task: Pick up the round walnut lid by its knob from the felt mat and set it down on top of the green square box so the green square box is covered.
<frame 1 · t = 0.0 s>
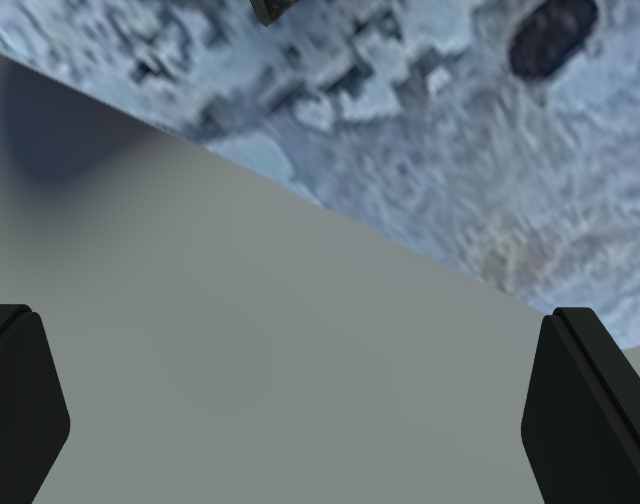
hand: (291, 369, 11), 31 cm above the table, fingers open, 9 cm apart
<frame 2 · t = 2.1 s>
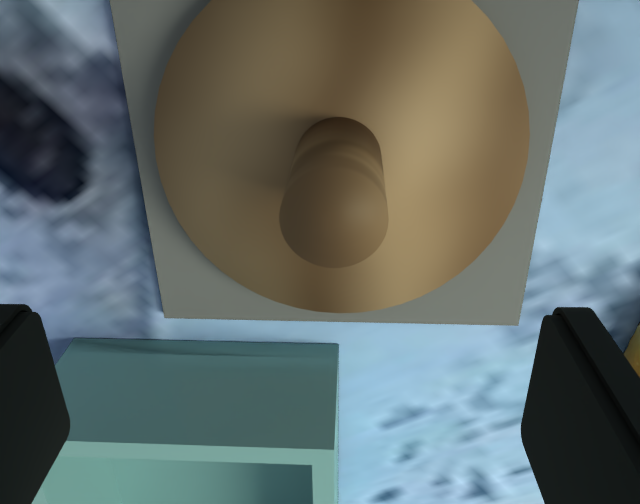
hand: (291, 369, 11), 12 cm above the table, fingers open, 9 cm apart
green square box: (217, 437, 29), on the table
mat: (339, 148, 21), on the table
lid: (339, 151, 21), resting on mat
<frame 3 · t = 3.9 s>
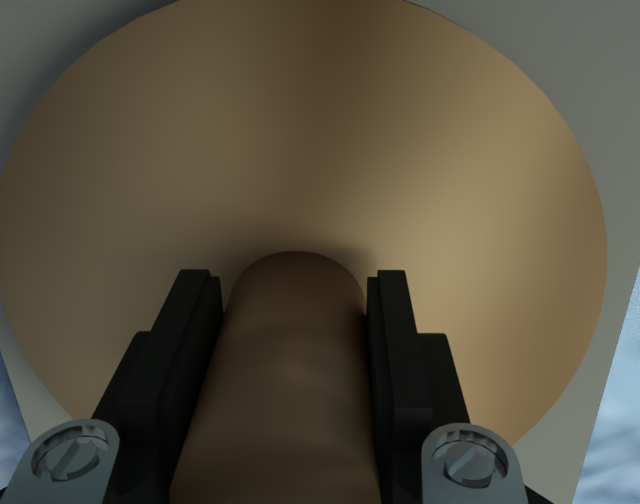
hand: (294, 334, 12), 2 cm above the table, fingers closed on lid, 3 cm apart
mat: (300, 283, 14), on the table
lid: (299, 292, 13), resting on mat, touching gripper
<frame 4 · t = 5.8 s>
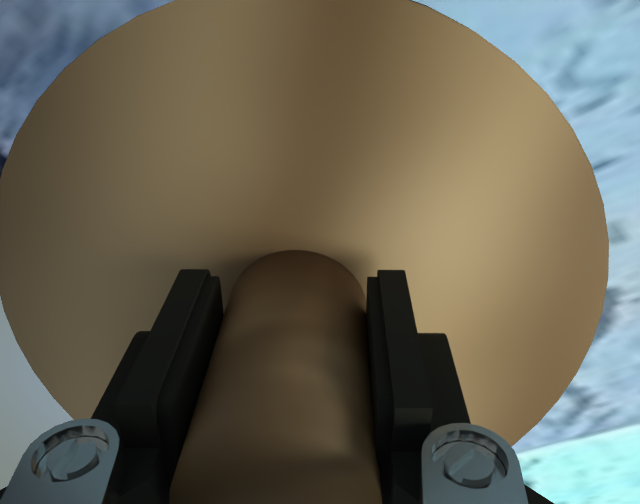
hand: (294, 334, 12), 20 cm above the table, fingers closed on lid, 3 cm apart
lid: (300, 291, 13), point 18 cm above the table, touching gripper
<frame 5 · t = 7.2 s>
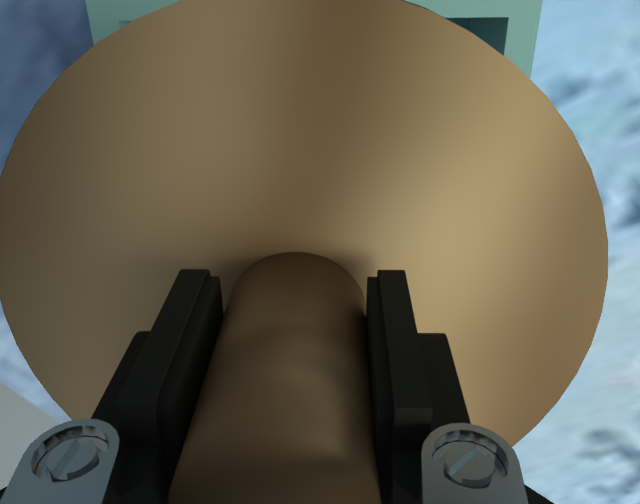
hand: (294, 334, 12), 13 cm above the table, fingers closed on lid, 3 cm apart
green square box: (320, 140, 23), on the table
lid: (299, 293, 13), point 11 cm above the table, touching gripper
when the fingers open (9 cm above the table, at t = 8.2 s): lid drops 1 cm, resting on green square box.
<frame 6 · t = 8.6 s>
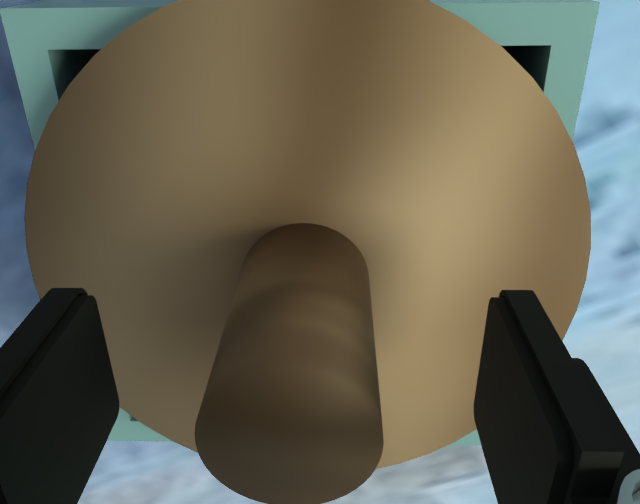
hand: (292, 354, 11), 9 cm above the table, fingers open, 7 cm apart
green square box: (312, 180, 20), on the table
lid: (306, 264, 14), point 6 cm above the table, touching green square box
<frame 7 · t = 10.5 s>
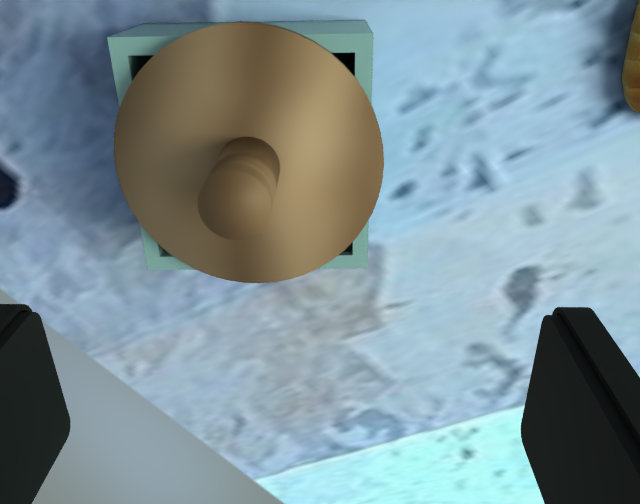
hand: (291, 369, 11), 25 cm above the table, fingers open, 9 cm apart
green square box: (261, 130, 34), on the table
lid: (251, 161, 29), point 6 cm above the table, touching green square box
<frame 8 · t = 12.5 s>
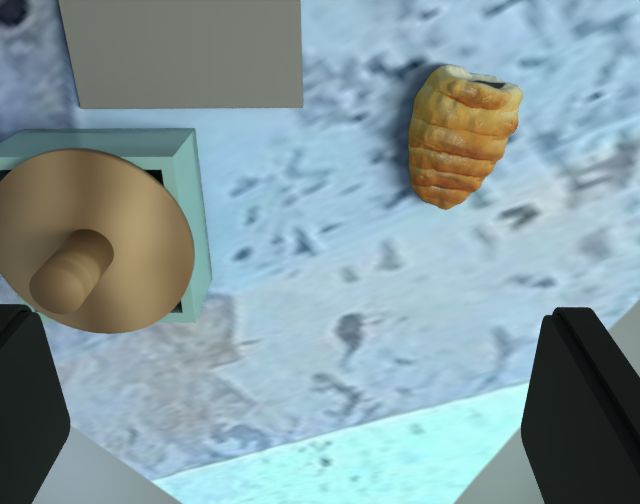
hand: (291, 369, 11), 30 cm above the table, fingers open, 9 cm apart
green square box: (123, 208, 43), on the table
pastry: (457, 126, 40), on the table
lid: (94, 244, 37), point 6 cm above the table, touching green square box
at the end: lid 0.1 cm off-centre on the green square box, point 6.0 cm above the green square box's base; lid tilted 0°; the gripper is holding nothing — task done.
